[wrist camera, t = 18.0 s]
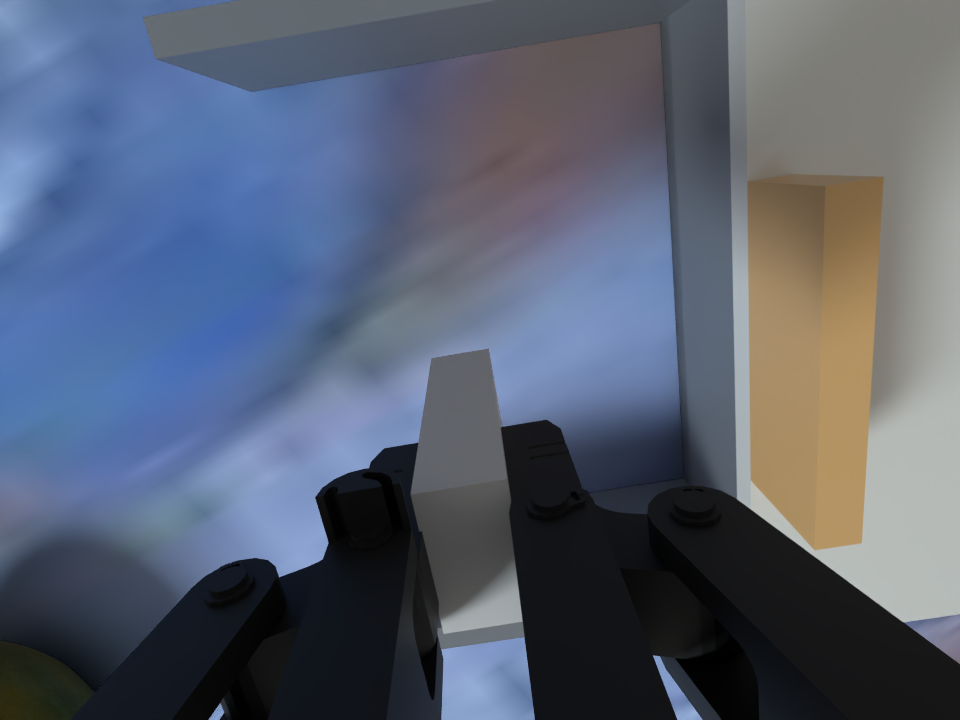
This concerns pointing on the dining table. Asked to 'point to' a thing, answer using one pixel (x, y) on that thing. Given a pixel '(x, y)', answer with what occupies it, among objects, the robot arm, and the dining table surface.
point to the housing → (512, 23)
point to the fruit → (38, 686)
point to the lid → (850, 286)
